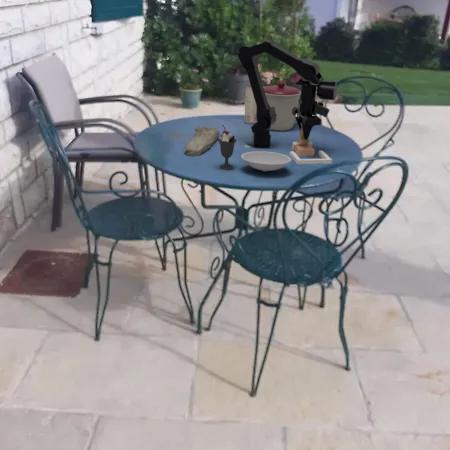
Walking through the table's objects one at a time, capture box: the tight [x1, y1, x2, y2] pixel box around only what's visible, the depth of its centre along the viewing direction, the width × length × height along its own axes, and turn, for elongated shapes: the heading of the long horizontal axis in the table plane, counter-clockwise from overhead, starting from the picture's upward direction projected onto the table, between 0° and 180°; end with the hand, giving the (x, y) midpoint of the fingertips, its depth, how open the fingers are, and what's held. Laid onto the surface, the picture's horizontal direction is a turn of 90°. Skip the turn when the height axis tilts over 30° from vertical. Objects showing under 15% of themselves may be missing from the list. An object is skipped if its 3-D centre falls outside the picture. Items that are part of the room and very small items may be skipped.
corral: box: [288, 150, 333, 165], centre depth 208 cm, size 13×12×2 cm
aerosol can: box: [243, 81, 257, 125], centre depth 254 cm, size 7×7×20 cm
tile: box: [294, 146, 316, 157], centre depth 215 cm, size 6×6×2 cm
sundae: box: [217, 124, 237, 171], centre depth 194 cm, size 7×7×15 cm
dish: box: [240, 150, 292, 173], centre depth 194 cm, size 18×14×5 cm
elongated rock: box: [183, 125, 220, 157], centre depth 223 cm, size 35×5×10 cm
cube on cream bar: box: [291, 128, 313, 152], centre depth 216 cm, size 8×3×9 cm, turn 98°
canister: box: [263, 79, 301, 132], centre depth 245 cm, size 18×18×21 cm
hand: (304, 137), depth 215 cm, fingers closed on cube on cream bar, 4 cm apart
